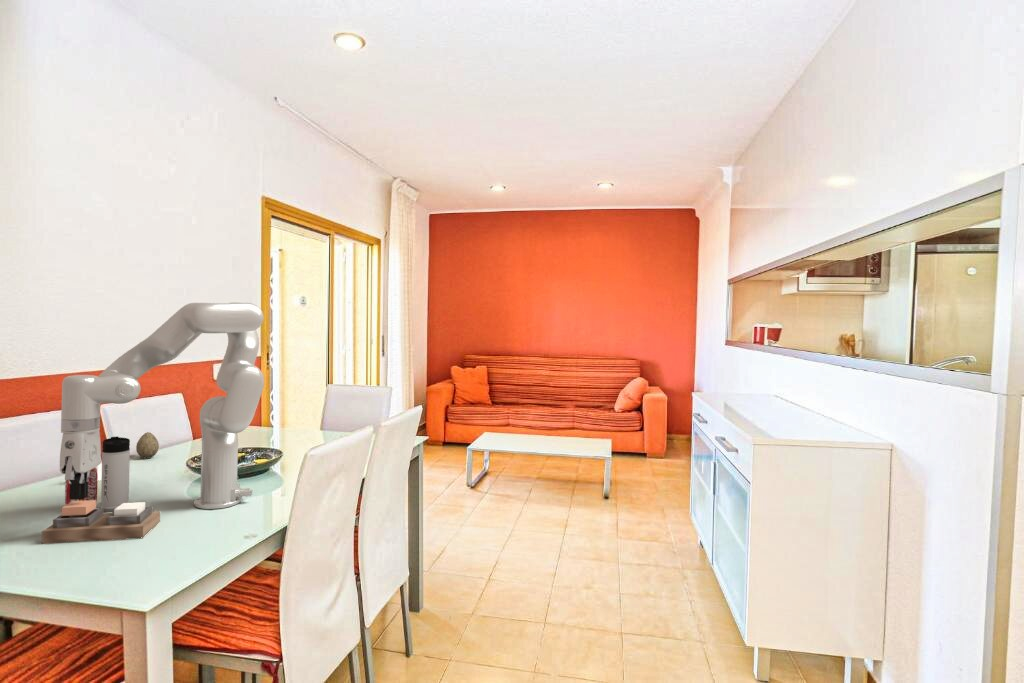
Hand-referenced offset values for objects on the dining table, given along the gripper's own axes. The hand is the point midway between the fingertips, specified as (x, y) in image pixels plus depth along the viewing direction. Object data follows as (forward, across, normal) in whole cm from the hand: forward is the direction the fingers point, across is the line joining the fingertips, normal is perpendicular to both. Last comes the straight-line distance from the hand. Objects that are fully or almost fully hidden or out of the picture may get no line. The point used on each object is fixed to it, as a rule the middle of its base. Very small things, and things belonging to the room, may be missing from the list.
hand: (78, 498), depth 133 cm
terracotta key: (+3, 0, 0) cm, 3 cm away
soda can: (+9, +20, +8) cm, 24 cm away
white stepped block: (+10, +49, +18) cm, 53 cm away
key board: (+9, 0, -6) cm, 11 cm away
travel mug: (+9, +18, -1) cm, 20 cm away
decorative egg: (+9, +77, +12) cm, 79 cm away
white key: (+4, 0, -11) cm, 12 cm away
